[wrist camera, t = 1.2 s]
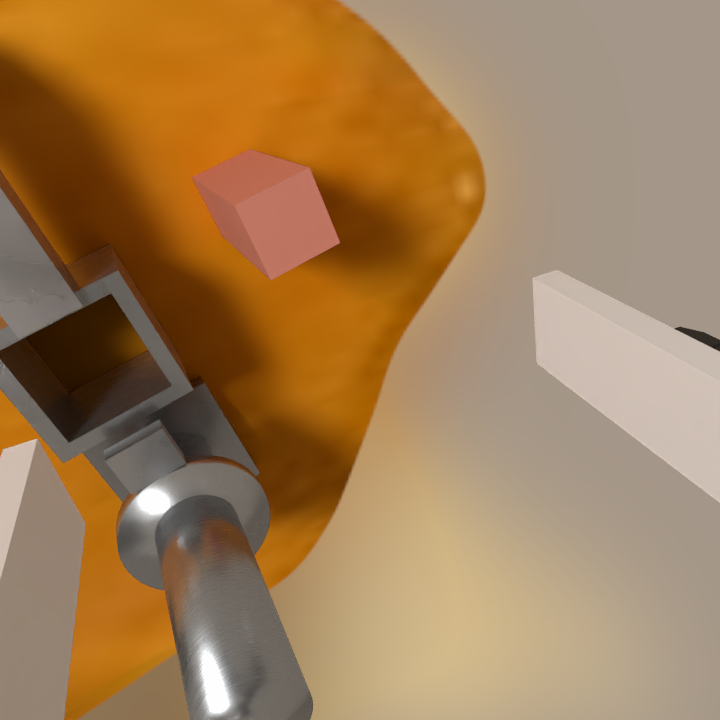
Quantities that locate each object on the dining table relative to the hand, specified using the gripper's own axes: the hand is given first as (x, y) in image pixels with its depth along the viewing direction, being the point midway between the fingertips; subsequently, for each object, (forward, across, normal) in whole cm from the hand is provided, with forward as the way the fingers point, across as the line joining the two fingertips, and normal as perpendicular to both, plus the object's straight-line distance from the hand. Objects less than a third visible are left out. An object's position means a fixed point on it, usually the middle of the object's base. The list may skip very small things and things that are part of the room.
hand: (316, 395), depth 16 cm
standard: (+21, +7, +13) cm, 26 cm away
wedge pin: (+22, -1, -1) cm, 22 cm away
